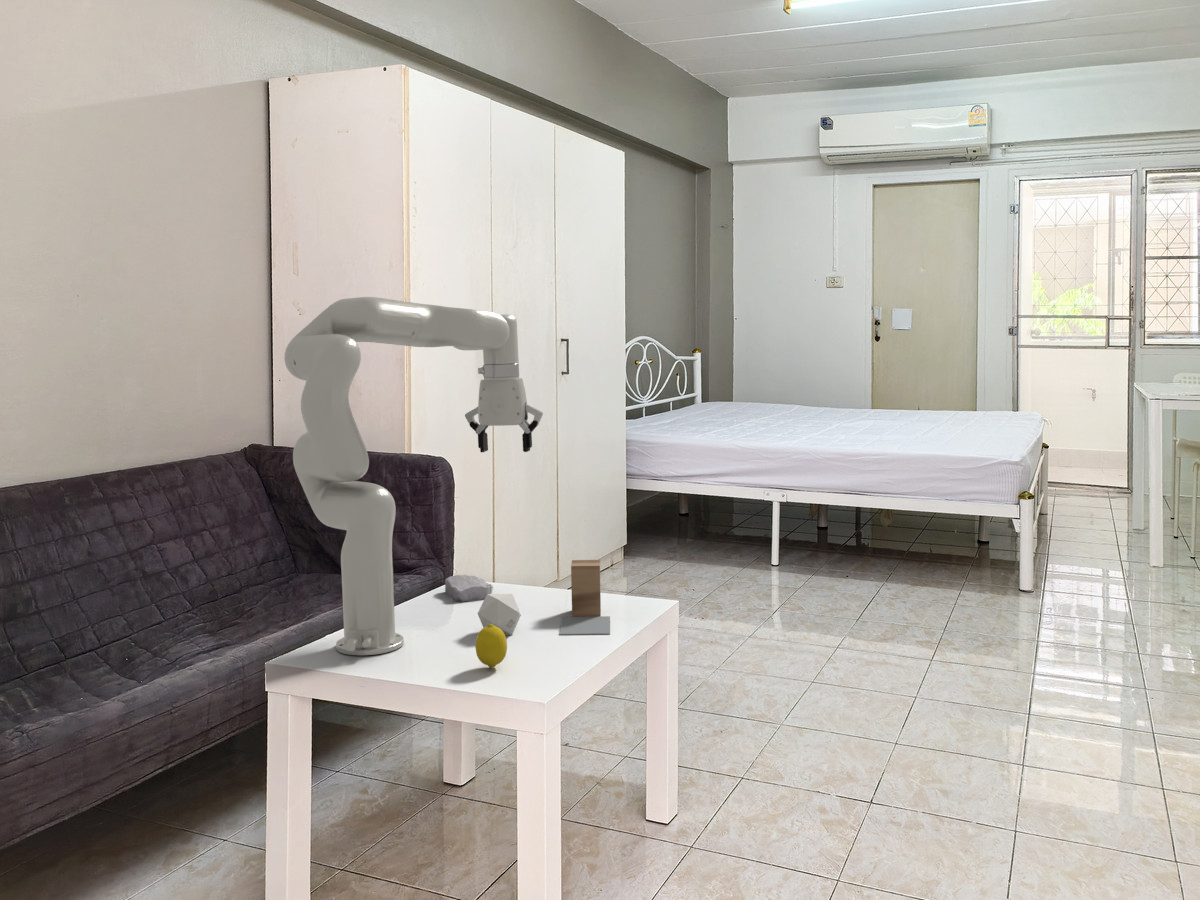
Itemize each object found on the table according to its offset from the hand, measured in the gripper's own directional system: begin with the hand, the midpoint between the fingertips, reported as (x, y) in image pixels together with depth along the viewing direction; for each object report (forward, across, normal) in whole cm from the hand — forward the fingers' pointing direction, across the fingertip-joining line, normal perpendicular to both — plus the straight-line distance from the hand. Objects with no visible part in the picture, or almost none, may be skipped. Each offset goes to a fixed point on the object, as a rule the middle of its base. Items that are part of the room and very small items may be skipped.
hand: (505, 451), depth 211 cm
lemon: (+34, +9, -42) cm, 55 cm away
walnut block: (+35, +18, -4) cm, 39 cm away
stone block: (+35, -13, +8) cm, 38 cm away
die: (+34, +4, -21) cm, 40 cm away
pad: (+34, +20, -13) cm, 42 cm away
